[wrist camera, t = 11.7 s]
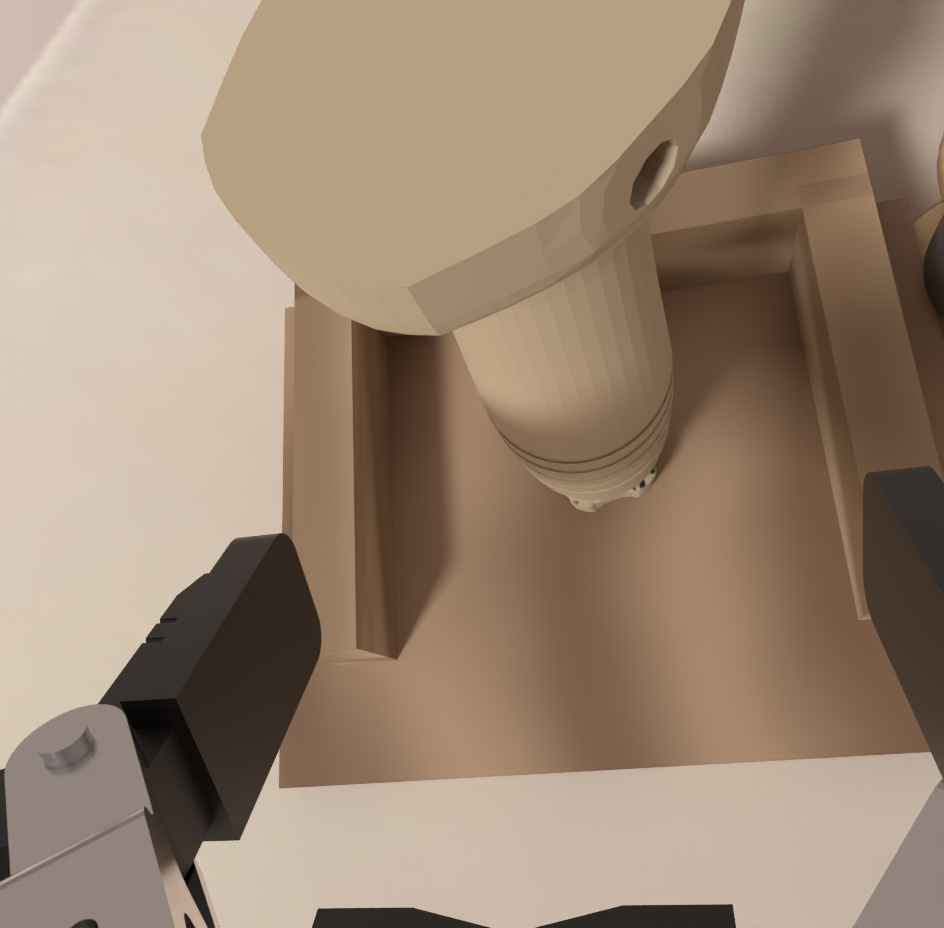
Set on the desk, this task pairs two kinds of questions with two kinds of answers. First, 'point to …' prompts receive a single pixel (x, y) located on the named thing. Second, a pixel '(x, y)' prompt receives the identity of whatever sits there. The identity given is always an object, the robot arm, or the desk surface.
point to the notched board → (624, 514)
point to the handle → (485, 195)
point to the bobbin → (934, 246)
